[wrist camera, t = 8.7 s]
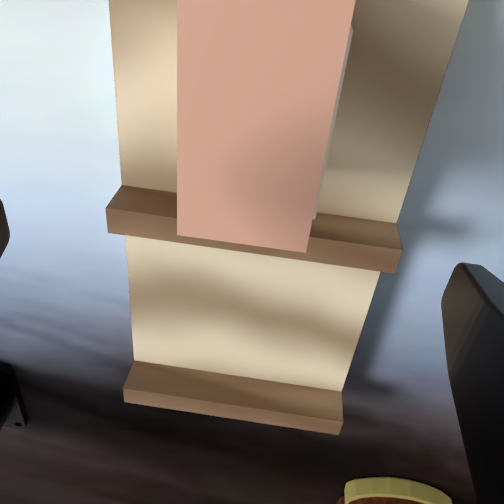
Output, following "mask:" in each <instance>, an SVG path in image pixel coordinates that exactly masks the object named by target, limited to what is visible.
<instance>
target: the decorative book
mask: <svg viewBox="0 0 504 504" xmlns="http://www.w3.org/2000/svg"><path fill="white" fill-rule="evenodd" d="M344 492H345V496H342V497H340V498H339V500H338V502H337V503H336V504H452V501H451V498H449V497H448V496H447V495H446V494H444V493H443V492H441V491H440V490H438V489H436V488H434V487H431V486H429V485H427V484H423V483H420V482H416V481H412V480H409V479H402V478H395V477H369V478H359V479H354V480H351V481H349V482H347V483H346V485H345V489H344Z"/></svg>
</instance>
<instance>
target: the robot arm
mask: <svg viewBox="0 0 504 504" xmlns="http://www.w3.org/2000/svg"><path fill="white" fill-rule="evenodd" d="M9 237H10V232H9V227H8V223H7V219H6V214H5V210H4V206H3V203H2V201H1V199H0V258H1V256H2V254H3V252H4V250H5V248H6V246H7V244H8V242H9ZM441 309H442V319H443V329H444V339H445V350H446V360H447V368H448V375H449V380H450V385H451V390H452V394H453V398H454V403H455V407H456V412H457V416H458V420H459V425H460V429H461V434H462V438H463V443H464V447H465V451H466V456H467V460H468V465H469V469H470V473H471V478H472V482H473V487H474V491H475V495H476V500H477V504H504V282H502V281H501V280H500V279H498V278H497V277H496V276H495V275H493V274H492V273H491V272H489V271H488V270H487V269H485V268H484V267H483V266H481V265H478V264H470V263H463V262H462V263H459V264H457V265H456V267H455V268H454V270H453V273H452V275H451V277H450V279H449V282H448V284H447V286H446V289H445V291H444V293H443V296H442V301H441ZM27 423H28V420H27V416H26V413H25V409H24V406H23V403H22V399H21V396H20V393H19V389H18V386H17V383H16V379H15V376H14V372H13V370H12V369H11V368H10V367H9V366H7V365H3V364H0V430H1V429H2V427H3V426H7V427H13V428H19V429H23V428H25V426H26V425H27Z"/></svg>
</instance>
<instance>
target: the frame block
mask: <svg viewBox="0 0 504 504" xmlns="http://www.w3.org/2000/svg"><path fill="white" fill-rule="evenodd" d="M355 1H356V0H177V235H180V236H187V237H195V238H202V239H209V240H216V241H224V242H231V243H238V244H245V245H252V246H260V247H267V248H274V249H281V250H288V251H296V252H303V253H306V250H307V245H308V240H309V235H310V230H311V225H312V219H315V218H316V213H317V208H318V203H319V198H320V193H321V188H322V183H323V178H324V173H325V168H326V163H327V159H328V154H329V149H330V144H331V139H332V134H333V129H334V124H335V119H336V114H337V109H338V104H339V99H340V94H341V89H342V84H343V79H344V74H345V69H346V64H347V59H348V54H349V49H350V44H351V39H352V34H353V29H352V26H351V21H352V16H353V11H354V6H355Z"/></svg>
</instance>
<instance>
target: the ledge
mask: <svg viewBox="0 0 504 504" xmlns="http://www.w3.org/2000/svg"><path fill="white" fill-rule="evenodd" d="M468 2H469V0H356V1H355V6H354V11H353V16H352V21H351V26H352V29H353V34H352V39H351V44H350V49H349V54H348V59H347V64H346V69H345V74H344V79H343V84H342V89H341V94H340V99H339V104H338V109H337V114H336V119H335V124H334V129H333V134H332V139H331V144H330V149H329V154H328V159H327V163H326V168H325V173H324V178H323V183H322V188H321V193H320V198H319V203H318V208H317V213H316V218H315V219H312V225H311V230H310V235H309V240H308V245H307V250H306V253H303V252H296V251H288V250H281V249H274V248H267V247H260V246H252V245H245V244H238V243H231V242H224V241H216V240H209V239H202V238H195V237H187V236H180V235H177V0H109V11H110V25H111V39H112V53H113V67H114V81H115V96H116V110H117V124H118V138H119V152H120V166H121V180H122V185H121V187H120V188H119V190H118V191H117V193H116V194H115V195H114V197H113V198H112V200H111V201H110V203H109V204H108V205H107V207H106V217H107V228H108V233H113V234H120V235H125V237H126V251H127V265H128V279H129V293H130V307H131V321H132V335H133V349H134V362H133V365H132V367H131V370H130V372H129V375H128V377H127V380H126V382H125V384H124V387H123V394H124V402H128V403H134V404H141V405H147V406H154V407H160V408H167V409H173V410H180V411H186V412H193V413H199V414H206V415H212V416H219V417H225V418H232V419H238V420H245V421H251V422H257V423H264V424H270V425H277V426H283V427H290V428H296V429H303V430H309V431H316V432H322V433H329V434H335V435H339V432H340V430H341V427H342V424H343V409H342V389H343V386H344V383H345V379H346V376H347V373H348V370H349V367H350V364H351V361H352V358H353V355H354V352H355V349H356V346H357V343H358V340H359V336H360V333H361V330H362V327H363V324H364V321H365V318H366V315H367V312H368V309H369V306H370V303H371V300H372V297H373V293H374V290H375V287H376V284H377V281H378V278H379V275H380V272H386V273H393V274H395V272H396V269H397V266H398V264H399V261H400V258H401V255H402V252H403V248H402V244H401V240H400V236H399V232H398V228H397V224H396V223H397V220H398V217H399V214H400V211H401V208H402V204H403V201H404V198H405V195H406V192H407V189H408V186H409V183H410V180H411V177H412V174H413V171H414V168H415V165H416V161H417V158H418V155H419V152H420V149H421V146H422V143H423V140H424V137H425V134H426V131H427V128H428V125H429V122H430V118H431V115H432V112H433V109H434V106H435V103H436V100H437V97H438V94H439V91H440V88H441V85H442V82H443V79H444V75H445V72H446V69H447V66H448V63H449V60H450V57H451V54H452V51H453V48H454V45H455V42H456V39H457V36H458V32H459V29H460V26H461V23H462V20H463V17H464V14H465V11H466V8H467V5H468Z"/></svg>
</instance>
